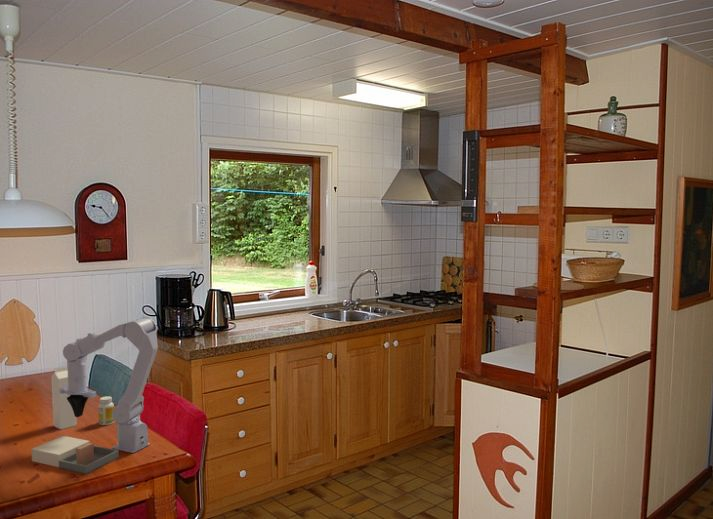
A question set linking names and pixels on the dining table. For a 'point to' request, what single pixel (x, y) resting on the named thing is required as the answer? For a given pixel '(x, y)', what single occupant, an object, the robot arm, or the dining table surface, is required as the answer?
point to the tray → (100, 459)
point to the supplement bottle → (105, 411)
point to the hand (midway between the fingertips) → (78, 416)
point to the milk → (61, 401)
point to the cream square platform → (56, 450)
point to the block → (85, 453)
